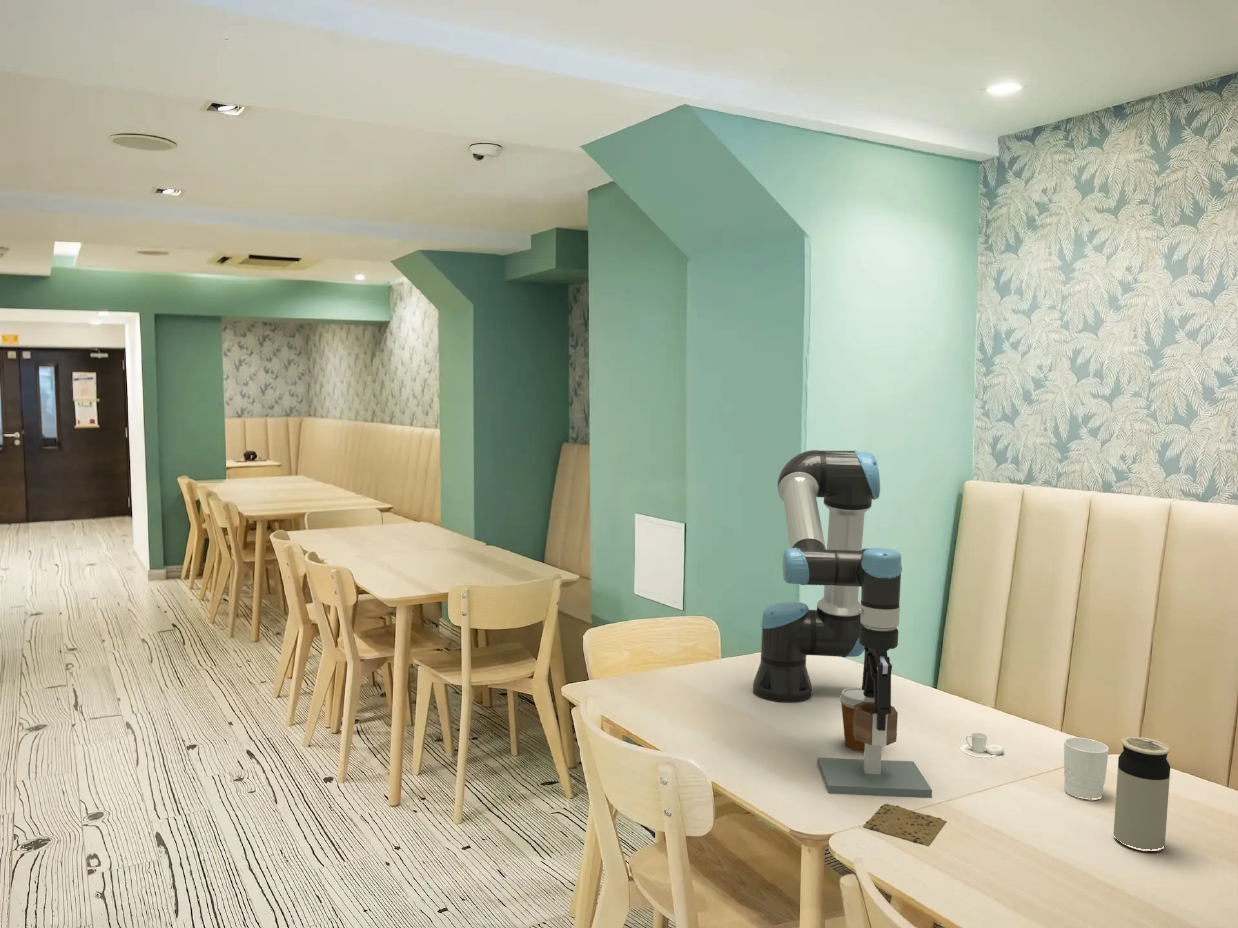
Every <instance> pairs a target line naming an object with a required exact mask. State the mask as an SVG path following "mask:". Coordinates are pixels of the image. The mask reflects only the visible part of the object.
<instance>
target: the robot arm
mask: <svg viewBox="0 0 1238 928" xmlns="http://www.w3.org/2000/svg"><path fill="white" fill-rule="evenodd" d="M877 462H878V461H877V459H876V457H875V455H874V454H873V453H871V452H867V451H858V450H817V449H816V450H815V449H813V450H806V451H804V452H801V453H798V454H797V455H796V456H794V457H792V458H791V459H790V460H789V461H788V462H787V463H786V464H785V465H784V467H783V468H782V469H781V471H780V473H779V476H778V479H777V492H778V495H779V498H780V499H781V500H782V501H783V504H784V505H783V506H784V511H785V518H786V520H785V521H786V526H787V527H786V528H787V533H788V534H787V535H788V541H789V548H786V549H785V550H784V551H783V555H782V557H783V558H782V577H783V580H784V582H785V583H787V584H794V585H801V586H824V588H823V597H822V598H821V599H820V600H818V601H817V604H816V609H810V608H809V607H808V605H807V604H806V603H804V602H798V601H797V602H796V601H787V602H786V601H785V602H779V603H775V604H772V605H771V604H770V605H769V606H767V607H766V608H764V610H763V611H762V617H761V618H762V619H761V623H760V627H761V648H760V650H761V651H760V663H759V666H758V668H757V671H756V674H755V677H754V680H753V682H752V692H753V693H754V694H755V696H756V697H759V698H762V699H764V700H769V701H773V702H780V703H796V702H803V701H806V700H809V699H811V698H812V695H813V693H812V692H813V686H812V682H811V679H810V675H809V672H808V671H809V670H808V669H807V656H818V657H819V656H820V657H821V656H822V657H839V658H841V657H842V658H847V657H848V658H850V657H852V658H854V657H857V658H858V657H860V656H861V655H862V654H863V653H864V660H863V672H862V681H861V684H862V685H861V688H862V690H864V692H863V694H864V696H866V697H864V702H874V705H875V710H872V711H871V714H873V726H872V745H881V746H882V747H884V746H886V742H887V720H888V714H891V706H892V672H893V671H892V670H893V669H892V668H893V664H892V663H891V658H890V656H888V651H889V650H893V649H894V650H895V649H896V648H897V647H898V646H899V629H898V627H899V626H900V614H901V613H900V609H901V607H900V600H901V582H902V581H901V579H902V571H903V566H902V554H901V553H900V552H899V551H898V550H894V549H891V548H887V547H885V548H882V547H871V548H868V547H866V548H863V539H864V537H863V536H864V526H865V514H866V512H867V511H868V510H870V509H871V508H872V501H875V500H878V499H879V498H880V494H881V480H880V479H881V478H880V472H879V471H880V470H879V466H878V463H877ZM817 498H823V504H824V506H825V507H826V508H827V509H828V510H829V512H828V513H829V514H828V527H827V529H828V530H827V541H826V543H825V539H824V532H823V527H822V521H821V515H820V511H819V506H818V499H817ZM860 587H861V590H860ZM859 590H860V591H861V592H860V593H861V595H860V597H861V599H860V601H859ZM882 707H885V708H882Z"/></svg>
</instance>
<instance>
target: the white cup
mask: <svg viewBox="0 0 1238 928" xmlns="http://www.w3.org/2000/svg"><path fill="white" fill-rule="evenodd" d="M1063 746H1064V747H1063V749H1064V750H1063V757H1064V758H1063V775H1064V791H1065V792H1067V793H1066V794H1067V795H1069V794H1070V795H1069V796H1071V795H1072V796H1071V797H1073V796H1077V797H1083V798H1088V799H1089V798H1090V799H1092V798H1098V797H1101V796H1102V795H1103V796H1104V787H1105V786H1104V785H1105V783H1106V775H1107V767H1108V758H1109V750H1110V749H1109V746H1108V745H1106V744H1104V743H1103V742H1101V741H1098V740H1094V739H1091V738H1085V737H1078V736H1077V737H1068V738H1065V740H1064V741H1063ZM1103 796H1102V797H1103Z"/></svg>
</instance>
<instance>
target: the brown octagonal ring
mask: <svg viewBox="0 0 1238 928" xmlns="http://www.w3.org/2000/svg"><path fill="white" fill-rule="evenodd" d="M882 708H885V707H882ZM872 710H875V705H874V702H862V703H859V704H856V705H854V712H853V735H854V737H855V739H856V740H858V741H860V742H863V743H866V744H869V745H872V726H873V714H871V711H872ZM898 714H899V713H898V711H897V710H896V708H895V707H894V705H893V706H892V705H891V714H888V720H887V742H886V746H889V745H891V744H894V743H896V742H897V739H898V738H897V737H898V736H897V735H898V717H899V716H898Z"/></svg>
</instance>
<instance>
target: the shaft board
mask: <svg viewBox="0 0 1238 928" xmlns="http://www.w3.org/2000/svg"><path fill="white" fill-rule="evenodd" d="M882 749H883V746H881V745H869V744H866V743H865V750H864V752H863V753H864V754H863V758H861V759H860V758H843V757H842V758H839V757H819V756H818V757H817V761H816V762H817V763H816V764H817V767H818V770H819V772H820V776H821V778H822V780H823V782H824V785H825V788H826V790H827V793H828V794H839V795H840V794H841V795H843V794H844V795H867V796H868V795H869V796H887V797H889V796H890V797H891V796H892V797H911V798H913V797H915V798H933V789H932V787H931V786H930V784H929V782H928V781H927V780H926V778H925V777H924V775H923V773H922V772H921V771H920V769H919V767H918V766H917V765H916V763H915V761H914V760H913V761H912V760H910V761H909V760H908V761H907V760H891V759H890V760H889V759H888V760H886V759H882V751H883V750H882Z"/></svg>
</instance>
